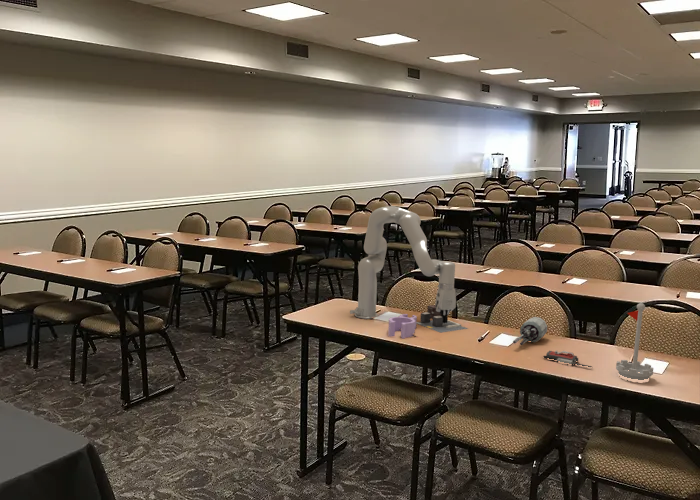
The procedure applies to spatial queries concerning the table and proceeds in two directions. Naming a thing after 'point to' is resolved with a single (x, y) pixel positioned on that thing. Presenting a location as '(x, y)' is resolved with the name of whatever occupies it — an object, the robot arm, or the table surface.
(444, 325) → the panel
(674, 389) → the table surface
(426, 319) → the block
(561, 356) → the walkie-talkie
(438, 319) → the breaker
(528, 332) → the device
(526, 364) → the table surface
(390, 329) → the clip
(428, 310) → the box
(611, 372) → the table surface
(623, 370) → the flag stand
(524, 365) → the table surface
